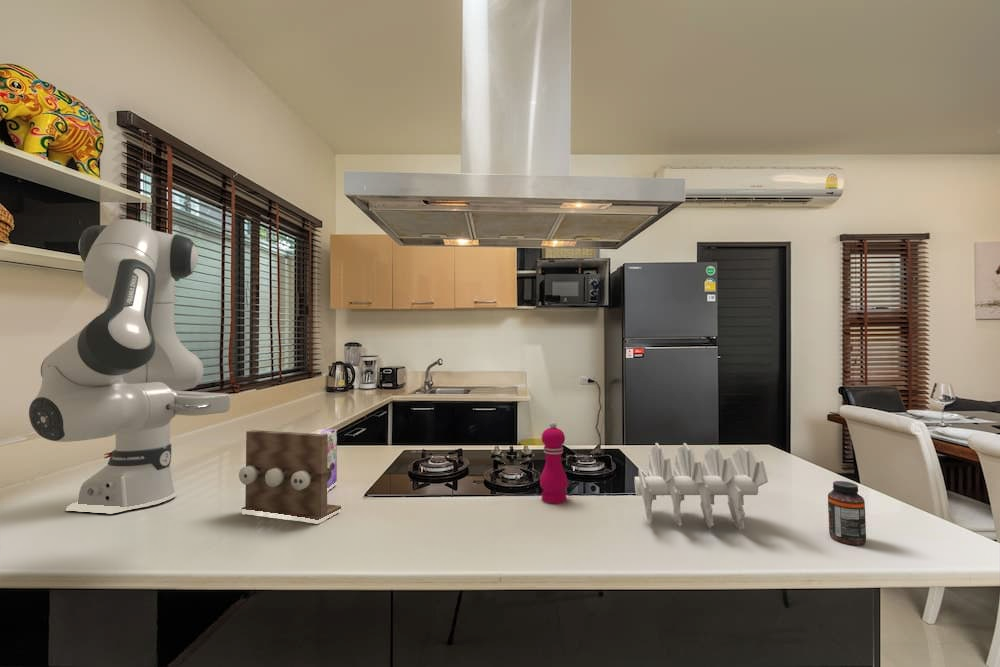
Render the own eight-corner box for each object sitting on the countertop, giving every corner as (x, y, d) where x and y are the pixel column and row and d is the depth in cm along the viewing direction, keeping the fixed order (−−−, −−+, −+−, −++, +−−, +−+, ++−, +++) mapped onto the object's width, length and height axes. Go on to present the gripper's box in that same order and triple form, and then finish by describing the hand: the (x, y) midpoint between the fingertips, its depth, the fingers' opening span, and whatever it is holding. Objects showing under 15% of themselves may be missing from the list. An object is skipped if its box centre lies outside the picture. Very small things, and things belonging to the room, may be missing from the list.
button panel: (241, 514, 107) (242, 432, 108) (268, 503, 114) (269, 426, 115) (318, 524, 100) (318, 437, 101) (341, 512, 108) (341, 430, 109)
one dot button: (238, 483, 104) (238, 466, 105) (258, 477, 110) (258, 460, 110) (251, 485, 103) (252, 467, 103) (271, 478, 109) (271, 462, 109)
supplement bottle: (830, 531, 95) (828, 477, 95) (866, 539, 91) (864, 482, 91) (828, 541, 90) (826, 484, 90) (866, 549, 86) (864, 489, 87)
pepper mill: (567, 495, 119) (566, 419, 120) (568, 504, 112) (567, 424, 113) (540, 494, 120) (539, 419, 121) (539, 503, 113) (538, 424, 113)
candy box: (317, 501, 116) (317, 437, 116) (294, 501, 116) (295, 437, 116) (337, 485, 129) (337, 428, 130) (317, 485, 129) (317, 428, 130)
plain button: (264, 486, 102) (265, 468, 103) (283, 479, 108) (283, 462, 108) (279, 487, 101) (279, 470, 101) (296, 480, 106) (297, 464, 107)
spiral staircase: (636, 531, 105) (751, 532, 101) (644, 524, 90) (780, 525, 86) (628, 453, 114) (733, 451, 109) (633, 434, 98) (756, 431, 94)
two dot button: (290, 489, 100) (290, 471, 100) (308, 482, 105) (308, 465, 105) (305, 491, 99) (305, 472, 99) (322, 483, 104) (322, 466, 104)
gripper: (190, 391, 81) (253, 384, 95) (113, 386, 88) (182, 381, 101) (190, 426, 81) (253, 414, 95) (112, 419, 88) (181, 409, 101)
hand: (216, 397), depth 98 cm, fingers closed
